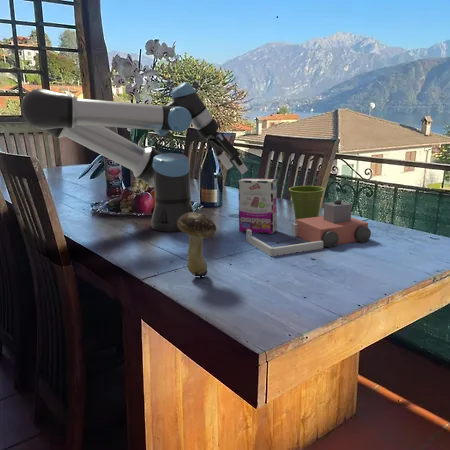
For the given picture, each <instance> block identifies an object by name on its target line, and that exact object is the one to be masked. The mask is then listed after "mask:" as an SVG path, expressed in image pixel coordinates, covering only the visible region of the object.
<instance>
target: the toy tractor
mask: <svg viewBox="0 0 450 450" xmlns="http://www.w3.org/2000/svg"><path fill="white" fill-rule="evenodd" d="M352 206H353V205H352V203H349V202H345V201H342V199H334V201H331V202H324V203H323V215H321V216H319V215H318V217H311V218H303V219H296V220H295V221H294V223H291V236H294V237H297V238H300V239H302V240H304V241H306V242H304V243H303V242H302V243H297V244H295V243H294V244H288V245H282V246H281V245H280V246H276V247H272V246H270V245H269V244H267V243H265V242H263V241H262V240H260V239H258V238H257V237H255V236H253V233H252V230H250V229H246V232H245V233H246V234H245V235H246V236H245V237H246V239H245V240H246V242H247V243H248V242H249V244H250V243H251V244H252V246H253V245H254V246H253V247H255V248H256V247H257V248H256V249H258V248H259V249H260V251H261V250H262V251H261V252H262V253H264V252H265V254H266V255H268V256H269V255H270V256H269V257H271V256H272V257H277V255H278V256H283V254H285V255H289V254H290V253H291V254H297V253H296V252H298V253H303V251H304V252H309V251H316V250H322V249H324V247H327V248H334V247H336V246H337V245H342V244H348V243H355V242H360V243H367V242H368V241H369V240H371V239H370V238H371V237H372V232H371V229H370V228H369V222H367V221H363V220H360V219H357V218H355V217H352ZM251 244H250V245H251ZM259 249H258V250H259Z"/></svg>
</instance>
